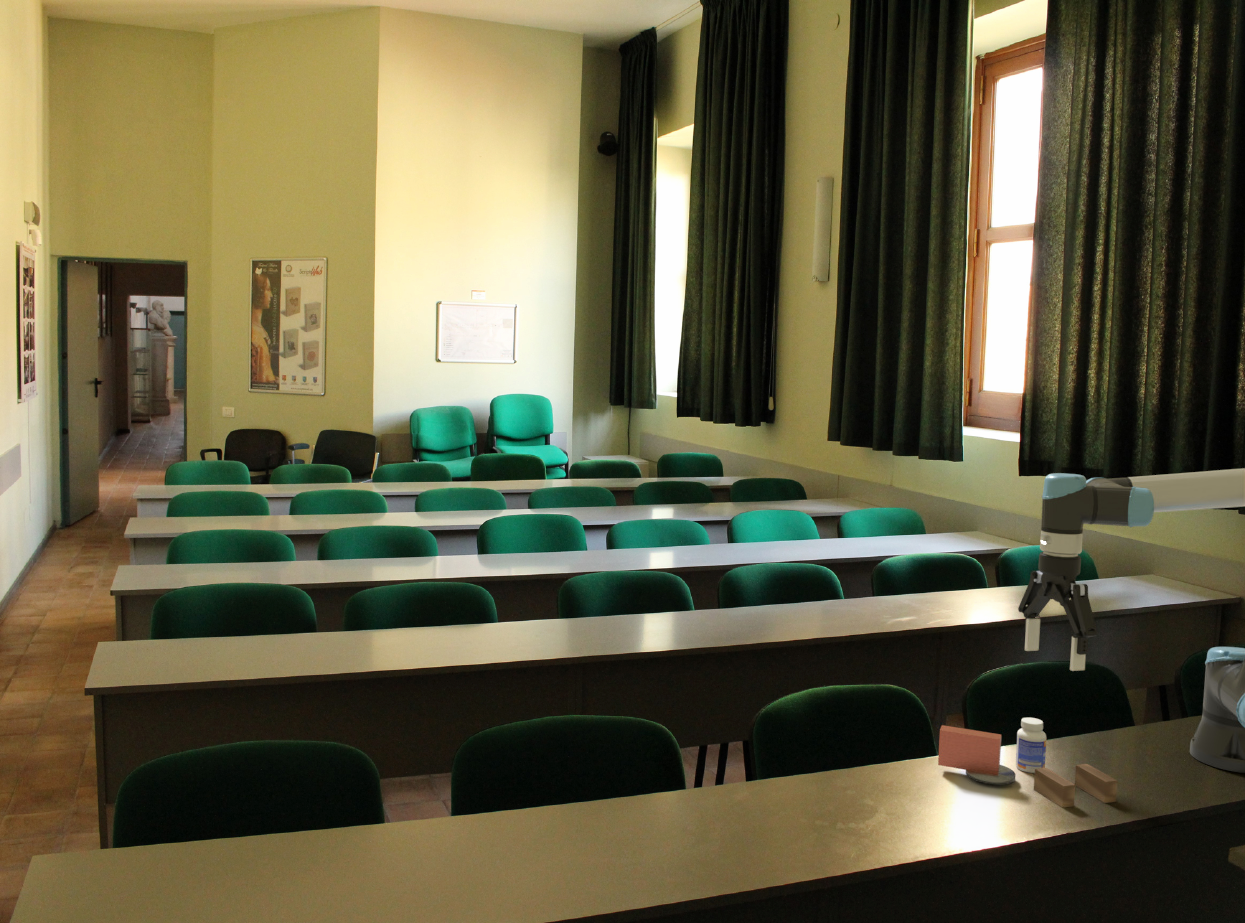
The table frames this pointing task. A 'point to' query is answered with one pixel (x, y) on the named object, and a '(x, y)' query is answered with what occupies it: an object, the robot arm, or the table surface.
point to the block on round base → (974, 754)
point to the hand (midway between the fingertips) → (1053, 659)
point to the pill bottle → (1031, 745)
